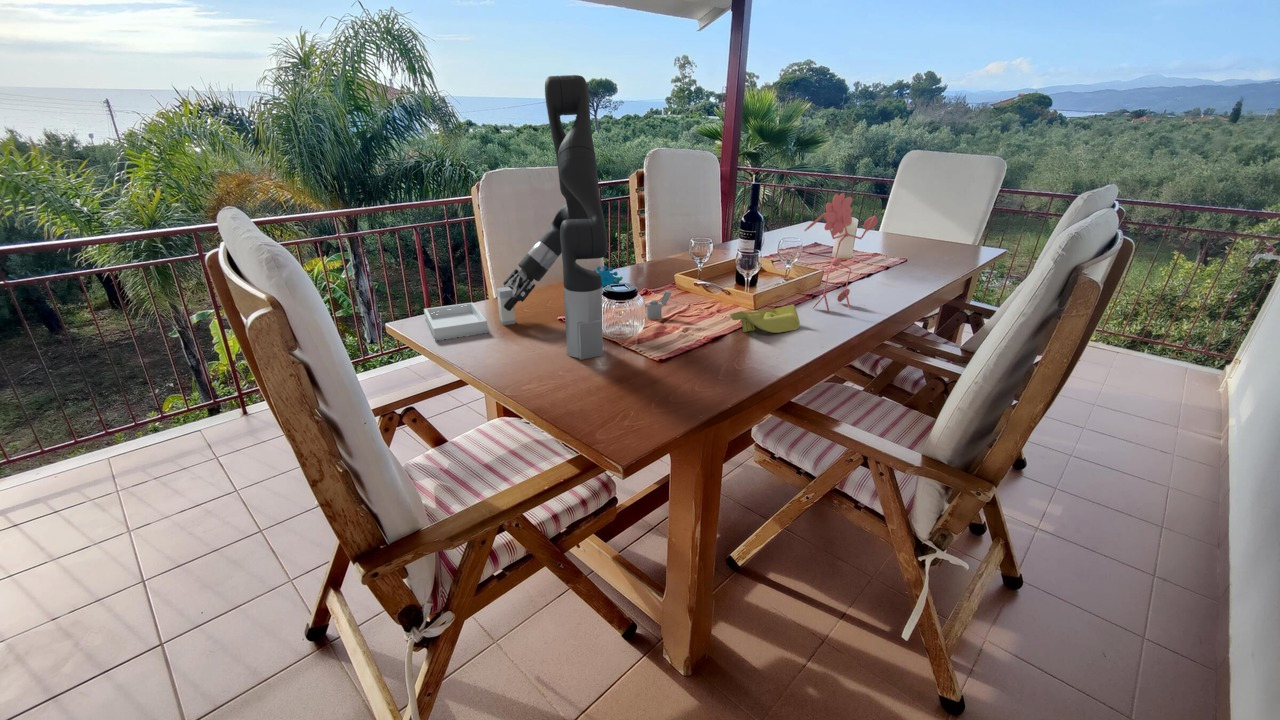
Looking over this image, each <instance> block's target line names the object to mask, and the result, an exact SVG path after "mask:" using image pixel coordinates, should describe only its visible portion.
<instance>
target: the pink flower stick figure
mask: <svg viewBox="0 0 1280 720" xmlns="http://www.w3.org/2000/svg"><path fill="white" fill-rule="evenodd" d="M845 195H846V193H844V192H843V193H840V194H838V193H835V194H834V195H833V198H832V202H827V203H826V204H825V211H826V212H824V213H822V214H821V215H819V217H816V219H815V220H813V221H812V222H811V223H810V224H809V225H808V226H807V227H806V228H805V229H804V230H803V231H804V232H806V231H808V230H810V229H811V228H812V227H813V226H815V225H816V223H818V222H819V221H821V220H822V218H823V219H824V221H825V222H826V223H825V224H824V230H825V231H829V232H830V234H831V237H832V240H835V239H839V238H840V239H839V240H838V244H837V248H836V252H835V253H836V254H835V256H834V258H833V259H832V260H831V264H830V268H829V269H828V272H827V275H826V281H825V285H824V291H823V294H822V297H817V299H818V301H817V302H816V303H815V304H814V306H813V307H812V309H815V308H816V307H817V305H819V304H820V302H822V301H823V299H824V302H825V305H826V306H825V307H826V311H827V313H830V307H829V303H828V299H827V294H828V291H826V289H827V285H828V279H829V274H830V273H831V269H832V268H833V267H839V266H842V267H843V268H844V267H845V268H847V269H848V270H849V272H848V276H847V281H846V285H845V287H844V289H843V290H842V291H841V292H840V293H839V294H838V295H837V298H836V300H837V302H838V303H841V302H842V301H844V300H845V299H846V302H847V308H848V309H851V305H850V301H849V295H850V293H851V290H850V289H849V288H848V283H849V279H850V275H851V273H852V268H851V267H849V266H847V265H845V264H842V259H841V258H839V257H837V256H838V253H839V249H840V245H841V243H842V241H843V240H844V239H845V238H847V237H850V238H851V237H852V238H854V239H858V240H862V239H863V238H864V236H865V235H866V233H867V232H869V231H870V230H872V229H874V228H875V227H877V225H878V222H879V220H878V217H877V216H876V215H873V216H871V217H868V218H867V219H866V220H865V221H864V223H863V228H864V231H863V233H862V235H861V236H857V235H853V234H850V233H849V232H848V228H847V226H850V225H851V224H853V223H852V222H853V218H852V213H853V208H852V207H851V205H852V203H853V197H851V196H848V197H846V196H845ZM845 197H846V198H845ZM843 232H845V233H843ZM838 233H839V234H840V235H837V234H838ZM842 233H843V234H842ZM836 235H837V236H836ZM809 299H811V297H810V298H809V297H808V298H806V300H809ZM794 304H795V305H794V306H795V307H796V306H797V305H796V304H797V303H794ZM861 305H863V306H866V305H865V304H863V303H861Z"/></svg>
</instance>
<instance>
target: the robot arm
mask: <svg viewBox="0 0 1280 720" xmlns="http://www.w3.org/2000/svg"><path fill="white" fill-rule="evenodd" d="M589 94H590V93H589V87H588V84H587V81H586V79H585V78H584V77H583V76H582V75H578V74H577V75H576V74H573V75H571V74H570V75H549V76H547V77H546V78H545V83H544V96H545V97H544V98H545V105H546V111H547V116H548V121H549V127H550V128H549V129H550V132H551V133H550V134H551V138H552V142H553V143H552V144H553V147H554V151H555V156H556V162H557V170H558V171H557V172H558V181H559V183H558V184H559V190H560V194H561V195H562V196H563V197H564V199H565V204H564V205H562V206H561V207H560V208H559V210H557V213H556V214H555V216H554V218H553V220H552V221H551V223H550V226H549V228H548V229H547V231H545V232H544V234H543V235H542V237H540V239H539V240H538V241H537V242H536V243H535V244H533V246H532V247H531V248H530V249H529V251H528V252H527V253H526V254H525V255H524V257H523V258H522V259H521V261H520V262H519V263H518V267H519V268H520V269H521V270H519V269H517V268H516V269H514V270H513V271H512V272H511V274H510V275H508V277H507V278H506V279H505V281H503V287H510V288H511V289H512V292H513V295H512V296H511V297H510V299H509V300H508V301H507V302H506V303H505V305H504V308H505V309H507V310H508V311H511V309H512V308H513V307H514V308H515V306H516V305H517V303H519V302H522V303H523V302H524V301H525V300H526V299H527V297H528V296H529V295H530V294H531V292H532V291H533V290H534V289H535V287H536V284H535V283H534V282H533V281H534V280H535V281H536V282H540V281H541V280H542V279H543V277H544V276H545V275H547V273H548V272H549V270H550V269H551V268H552V267H553V266H554V264H555V263H556V261H557V259H558V258H559V257H560V255H561V258H562V259H561V261H562V273H563V275H562V277H563V279H562V280H563V297H564V298H563V300H564V319H565V320H564V321H565V322H564V324H565V341H566V354H567V355H569V356H570V357H573V358H577V359H579V360H581V361H582V360H587V359H592V358H597V357H602V356H604V347H603V346H604V342H603V341H604V339H603V338H604V337H603V336H604V335H603V333H604V332H603V288H602V278H601V276H600V274H599V272H598V271H596V272H594V270H591V269H588V268H585V267H584V266H583V267H582V266H581V265H579V264H578V263H577V260H593V259H595V260H596V259H598V260H599V259H602V258H604V257H606V255H607V254H608V247H609V244H608V241H609V240H608V233H607V228H606V222H605V218H604V213H603V212H604V211H603V206H602V201H601V196H600V188H599V178H598V177H599V176H598V175H599V174H598V167H597V159H596V152H595V151H596V150H595V146H594V141H593V132H592V126H591V125H592V123H591V112H590V110H591V109H590V107H591V106H590V95H589ZM561 116H576V117H575V120H574V122H573V124H572V127H571V128H570V129H569V130H568V132H567V133H566V132H565V130H564V128H563V124H562V121H561ZM495 298H496V300H497V301H498V299H497V296H496V297H495Z"/></svg>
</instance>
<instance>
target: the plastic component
mask: <svg viewBox="0 0 1280 720" xmlns="http://www.w3.org/2000/svg"><path fill="white" fill-rule="evenodd" d="M729 317H730V318H731V320H732V321H738V320H739V321H741V327H742V331H743V333H745V332H746V333H747V332H751V331H756V329H755V328H758V329H760V330H762V331H764V332H767V333H772V334H777V333H778V334H779V333H784V332H790V331H795V330H798V329H799V328H800V326H801V325H800V318H799V314H798V311H797V308H796V306H795V305H794V304H788V305H786V306H780V307H776V308H772V309H764V310H763V309H762V310H757V311H756V310H755V311H754V310H753V311H748V312H746V311H745V310H741V311H737V312H732V313H730V314H729Z"/></svg>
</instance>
